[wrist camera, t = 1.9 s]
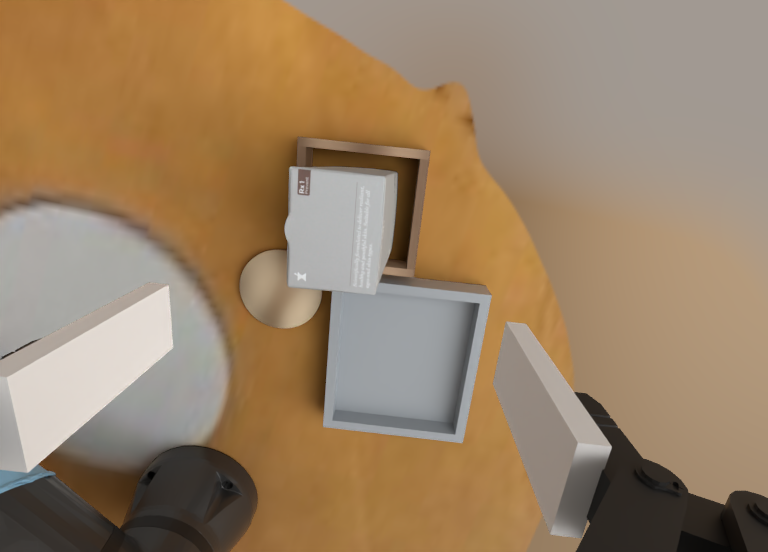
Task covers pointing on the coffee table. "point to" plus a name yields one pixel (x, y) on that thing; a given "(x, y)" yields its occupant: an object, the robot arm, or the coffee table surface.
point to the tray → (405, 357)
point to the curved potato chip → (276, 292)
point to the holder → (308, 144)
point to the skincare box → (339, 227)
